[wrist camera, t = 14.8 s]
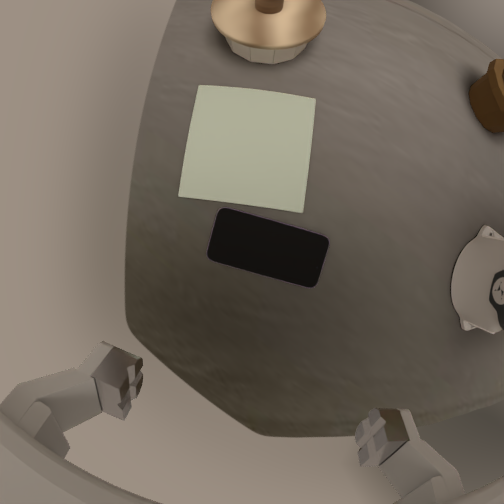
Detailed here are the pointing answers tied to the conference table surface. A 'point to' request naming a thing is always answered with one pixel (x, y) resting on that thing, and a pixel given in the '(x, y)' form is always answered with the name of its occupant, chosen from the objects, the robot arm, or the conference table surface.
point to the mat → (248, 148)
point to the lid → (269, 22)
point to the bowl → (265, 53)
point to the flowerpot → (490, 97)
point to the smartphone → (267, 247)
